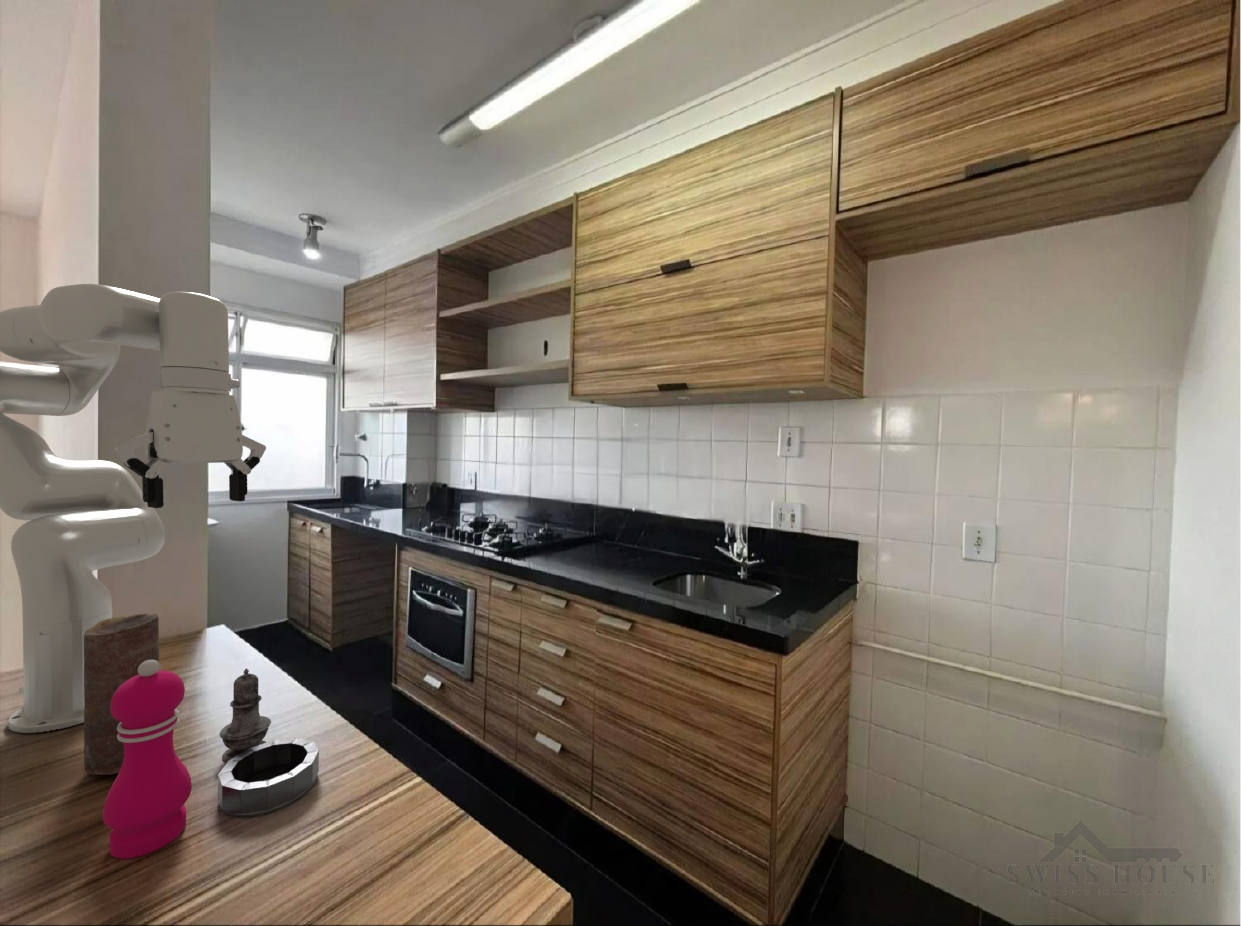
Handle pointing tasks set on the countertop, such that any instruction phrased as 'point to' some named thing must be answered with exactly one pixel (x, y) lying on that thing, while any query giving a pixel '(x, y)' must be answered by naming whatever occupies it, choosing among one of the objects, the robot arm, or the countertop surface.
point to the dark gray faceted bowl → (268, 777)
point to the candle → (112, 682)
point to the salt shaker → (244, 718)
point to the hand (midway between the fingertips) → (198, 503)
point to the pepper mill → (147, 765)
